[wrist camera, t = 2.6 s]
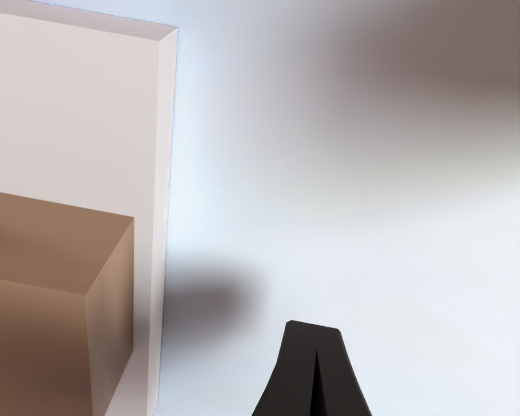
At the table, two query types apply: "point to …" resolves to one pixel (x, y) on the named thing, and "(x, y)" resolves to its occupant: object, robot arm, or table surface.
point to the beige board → (96, 143)
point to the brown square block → (63, 307)
